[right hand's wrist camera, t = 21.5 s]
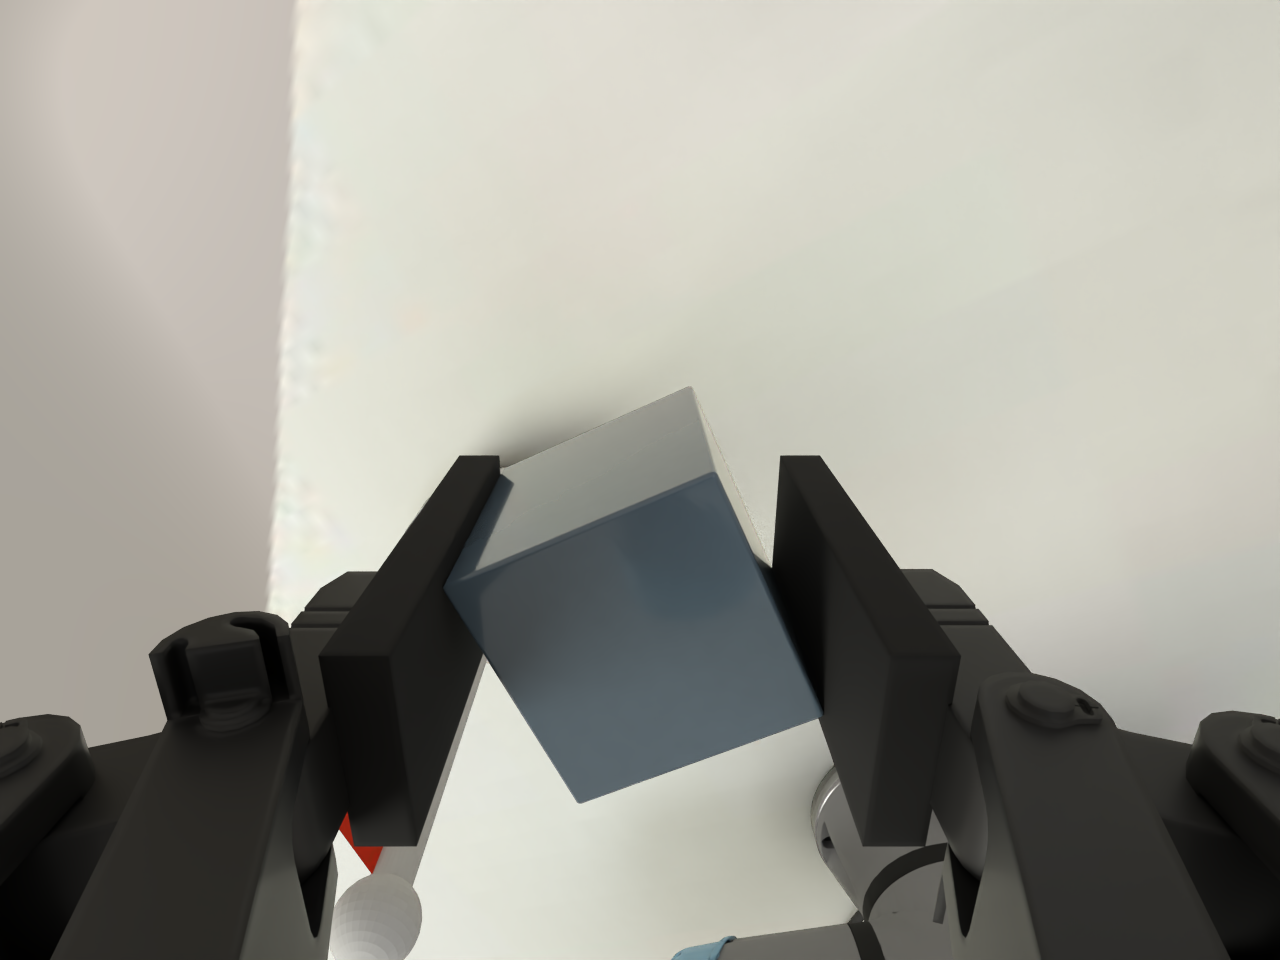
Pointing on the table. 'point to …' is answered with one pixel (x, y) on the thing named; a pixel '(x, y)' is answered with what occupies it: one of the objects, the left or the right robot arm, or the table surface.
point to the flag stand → (389, 883)
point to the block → (632, 602)
